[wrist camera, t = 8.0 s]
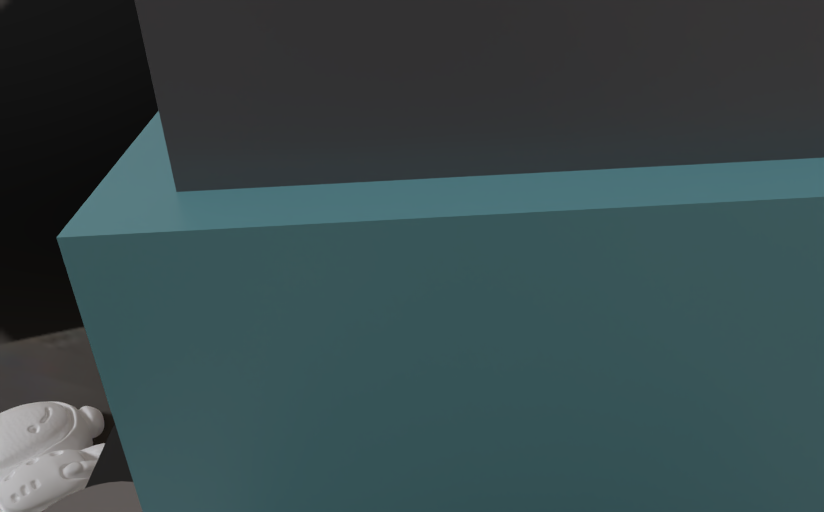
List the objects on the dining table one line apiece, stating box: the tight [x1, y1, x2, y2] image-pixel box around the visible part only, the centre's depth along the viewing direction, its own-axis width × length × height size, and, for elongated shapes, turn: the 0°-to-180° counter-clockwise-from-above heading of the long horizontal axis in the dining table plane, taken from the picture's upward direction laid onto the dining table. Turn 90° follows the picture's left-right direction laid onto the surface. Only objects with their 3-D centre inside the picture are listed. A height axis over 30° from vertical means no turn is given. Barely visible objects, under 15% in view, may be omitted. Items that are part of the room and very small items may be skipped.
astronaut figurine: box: [0, 402, 105, 512], centre depth 37 cm, size 9×12×3 cm
